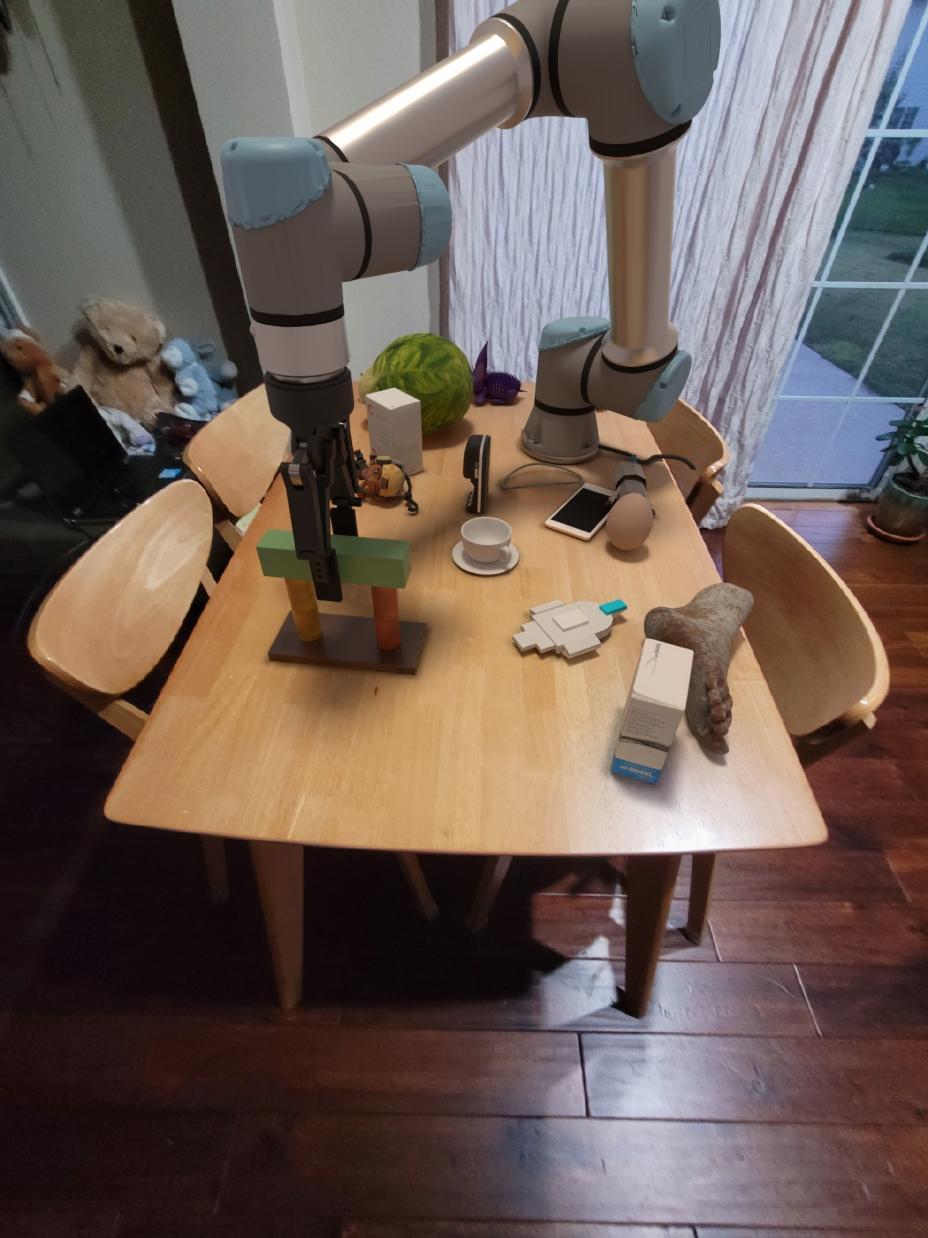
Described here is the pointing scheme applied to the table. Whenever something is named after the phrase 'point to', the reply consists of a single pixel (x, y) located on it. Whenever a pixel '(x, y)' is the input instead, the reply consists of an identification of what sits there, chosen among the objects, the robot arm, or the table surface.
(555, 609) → the toy rocket
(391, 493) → the toy
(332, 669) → the table surface
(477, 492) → the battery charger
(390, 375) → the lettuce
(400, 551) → the bar
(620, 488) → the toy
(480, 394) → the creature
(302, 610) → the rods
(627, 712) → the ink box
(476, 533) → the teacup
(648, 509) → the egg
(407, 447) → the small box
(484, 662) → the table surface
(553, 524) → the cell phone
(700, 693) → the sculpture
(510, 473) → the loop
